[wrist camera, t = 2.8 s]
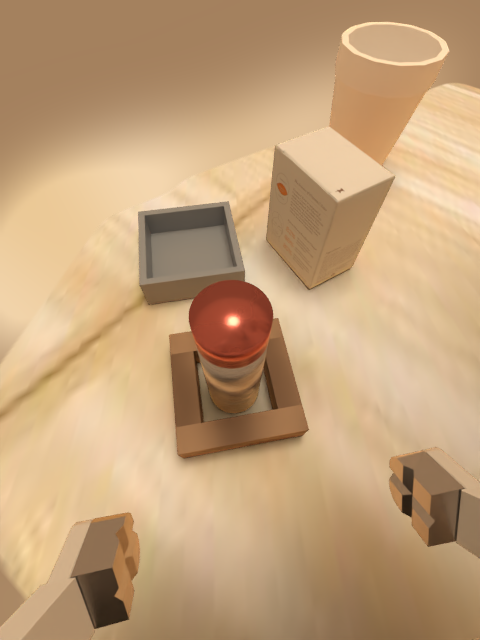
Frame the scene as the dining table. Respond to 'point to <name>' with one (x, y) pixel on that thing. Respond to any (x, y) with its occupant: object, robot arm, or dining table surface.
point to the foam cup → (382, 82)
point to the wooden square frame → (240, 429)
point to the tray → (187, 251)
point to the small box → (323, 203)
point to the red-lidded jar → (231, 341)
